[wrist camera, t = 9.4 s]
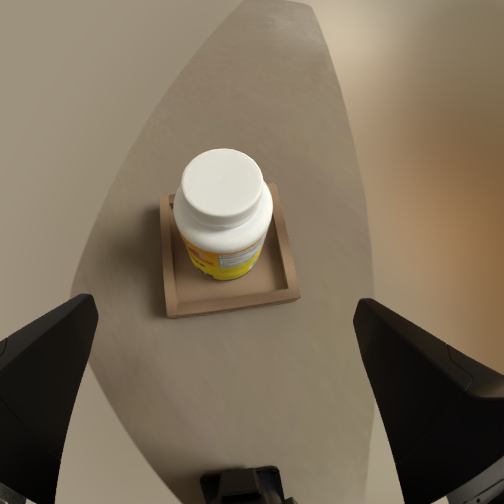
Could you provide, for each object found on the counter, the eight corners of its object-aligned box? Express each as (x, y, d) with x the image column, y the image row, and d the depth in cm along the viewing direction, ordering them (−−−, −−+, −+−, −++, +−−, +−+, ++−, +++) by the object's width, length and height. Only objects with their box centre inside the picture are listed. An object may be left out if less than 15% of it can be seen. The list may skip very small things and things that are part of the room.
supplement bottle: (182, 229, 23) (156, 151, 13) (246, 211, 24) (257, 127, 14) (201, 293, 21) (177, 247, 12) (268, 272, 22) (298, 213, 13)
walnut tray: (294, 301, 23) (300, 297, 21) (172, 319, 21) (167, 316, 20) (272, 194, 26) (275, 182, 24) (164, 207, 25) (159, 196, 23)
